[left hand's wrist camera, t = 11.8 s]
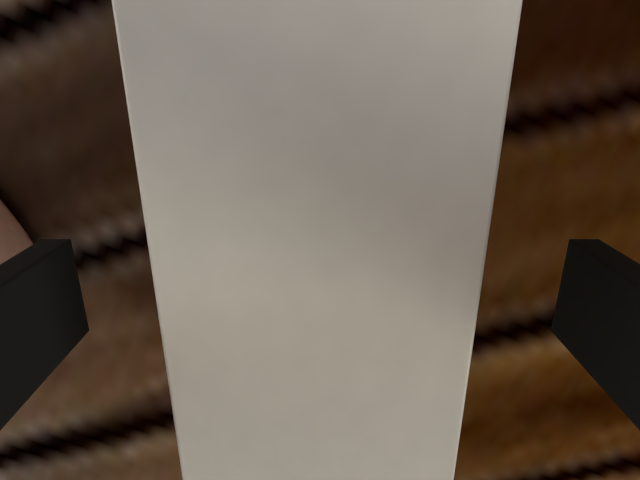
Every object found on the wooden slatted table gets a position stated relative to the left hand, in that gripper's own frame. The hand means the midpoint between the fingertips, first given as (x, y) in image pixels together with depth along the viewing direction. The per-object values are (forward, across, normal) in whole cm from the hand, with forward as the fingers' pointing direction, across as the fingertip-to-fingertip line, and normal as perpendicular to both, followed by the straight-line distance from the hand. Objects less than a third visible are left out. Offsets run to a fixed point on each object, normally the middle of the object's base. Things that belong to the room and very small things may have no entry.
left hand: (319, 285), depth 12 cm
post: (+5, 0, -19) cm, 20 cm away
